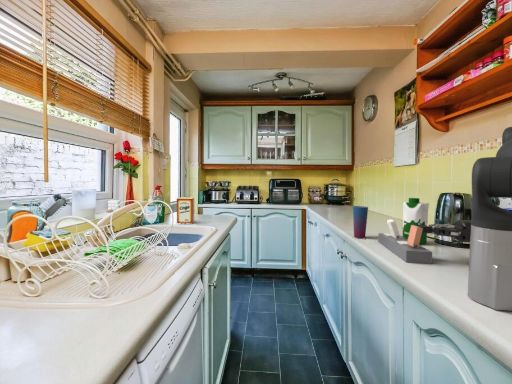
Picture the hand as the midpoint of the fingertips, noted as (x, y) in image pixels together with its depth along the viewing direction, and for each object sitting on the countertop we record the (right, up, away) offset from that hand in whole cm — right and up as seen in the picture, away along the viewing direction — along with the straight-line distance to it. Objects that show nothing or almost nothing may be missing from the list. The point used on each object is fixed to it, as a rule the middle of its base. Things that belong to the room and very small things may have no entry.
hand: (418, 229), depth 88 cm
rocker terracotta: (-2, -6, +1) cm, 6 cm away
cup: (-7, -9, +33) cm, 35 cm away
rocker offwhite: (0, -5, +14) cm, 15 cm away
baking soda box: (-102, -7, +69) cm, 123 cm away
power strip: (0, -10, +13) cm, 17 cm away
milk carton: (+14, -10, +24) cm, 29 cm away
